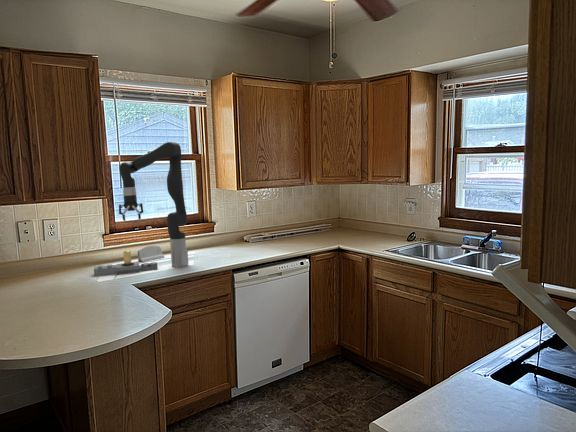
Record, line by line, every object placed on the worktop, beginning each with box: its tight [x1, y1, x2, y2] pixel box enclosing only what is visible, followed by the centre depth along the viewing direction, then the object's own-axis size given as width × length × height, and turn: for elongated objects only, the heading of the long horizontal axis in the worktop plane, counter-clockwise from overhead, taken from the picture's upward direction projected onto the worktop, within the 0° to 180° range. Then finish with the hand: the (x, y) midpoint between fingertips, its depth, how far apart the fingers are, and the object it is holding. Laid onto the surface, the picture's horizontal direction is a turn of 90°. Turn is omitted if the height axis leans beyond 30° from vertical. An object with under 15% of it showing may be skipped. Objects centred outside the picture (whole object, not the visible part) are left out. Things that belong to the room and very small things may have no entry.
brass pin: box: [122, 250, 132, 266], centre depth 258 cm, size 4×4×12 cm
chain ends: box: [93, 261, 158, 277], centre depth 258 cm, size 35×11×5 cm, turn 110°
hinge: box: [137, 245, 165, 263], centre depth 288 cm, size 17×5×10 cm, turn 136°
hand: (131, 220), depth 272 cm, fingers open, 8 cm apart
